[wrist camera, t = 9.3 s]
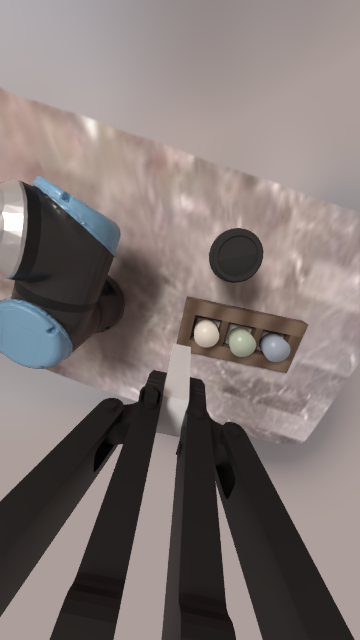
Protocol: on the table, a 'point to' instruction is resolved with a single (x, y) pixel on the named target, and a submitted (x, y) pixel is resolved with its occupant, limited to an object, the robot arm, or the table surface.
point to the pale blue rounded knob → (274, 347)
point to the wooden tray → (244, 317)
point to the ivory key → (206, 333)
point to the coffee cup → (236, 255)
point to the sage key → (241, 342)
